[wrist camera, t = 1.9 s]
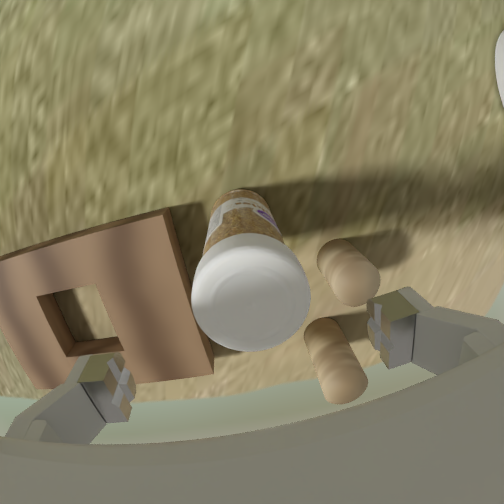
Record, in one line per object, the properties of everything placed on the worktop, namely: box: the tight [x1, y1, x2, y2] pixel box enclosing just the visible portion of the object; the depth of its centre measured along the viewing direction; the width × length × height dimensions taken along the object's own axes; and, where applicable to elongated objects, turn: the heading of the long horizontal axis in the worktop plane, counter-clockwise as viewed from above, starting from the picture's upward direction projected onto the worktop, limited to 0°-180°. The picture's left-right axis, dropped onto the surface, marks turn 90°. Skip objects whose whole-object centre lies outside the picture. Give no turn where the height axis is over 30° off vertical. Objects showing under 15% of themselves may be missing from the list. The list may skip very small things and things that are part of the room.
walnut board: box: [0, 207, 214, 389], centre depth 25 cm, size 20×14×2 cm
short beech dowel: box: [317, 239, 380, 307], centre depth 24 cm, size 3×3×5 cm
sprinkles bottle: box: [191, 189, 311, 352], centre depth 18 cm, size 5×5×13 cm
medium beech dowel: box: [304, 318, 368, 404], centre depth 25 cm, size 3×3×8 cm
